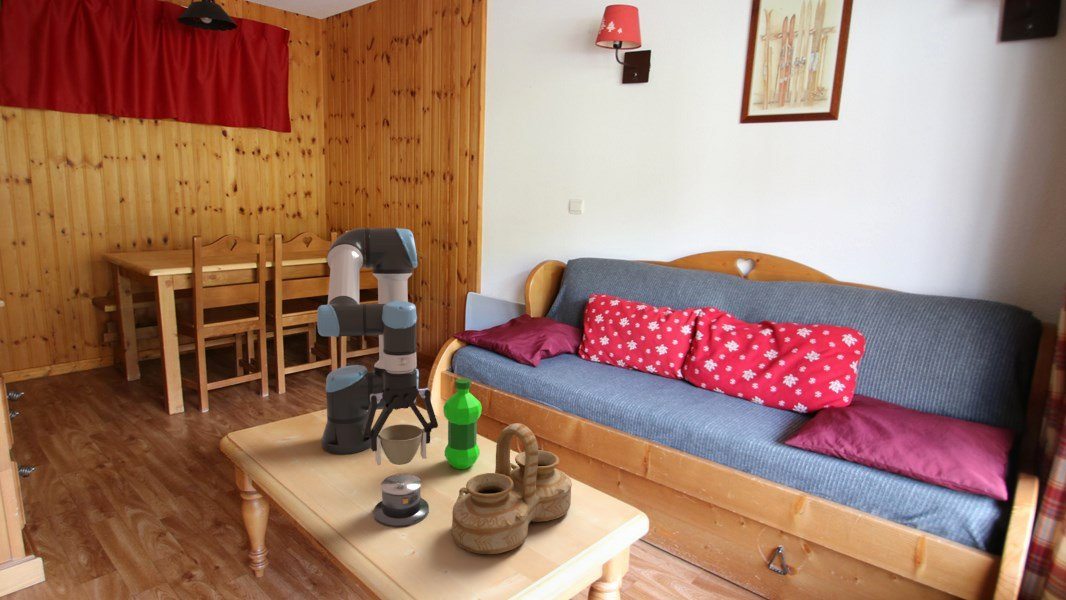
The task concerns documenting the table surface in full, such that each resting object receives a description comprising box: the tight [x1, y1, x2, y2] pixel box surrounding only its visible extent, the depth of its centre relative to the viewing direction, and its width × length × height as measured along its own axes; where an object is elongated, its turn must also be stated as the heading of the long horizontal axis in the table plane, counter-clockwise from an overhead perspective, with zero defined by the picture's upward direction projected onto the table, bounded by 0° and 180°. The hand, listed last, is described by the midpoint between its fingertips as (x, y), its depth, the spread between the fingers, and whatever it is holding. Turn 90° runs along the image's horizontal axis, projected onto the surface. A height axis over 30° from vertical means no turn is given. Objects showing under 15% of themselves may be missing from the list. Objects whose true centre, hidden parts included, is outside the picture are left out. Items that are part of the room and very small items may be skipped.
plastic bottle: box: [443, 377, 483, 470], centre depth 171 cm, size 10×10×25 cm
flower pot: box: [378, 423, 423, 466], centre depth 145 cm, size 10×10×7 cm
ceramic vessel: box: [451, 422, 573, 555], centre depth 144 cm, size 34×18×25 cm, turn 143°
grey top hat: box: [373, 473, 430, 528], centre depth 148 cm, size 13×13×8 cm
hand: (401, 459), depth 146 cm, fingers closed on flower pot, 10 cm apart
